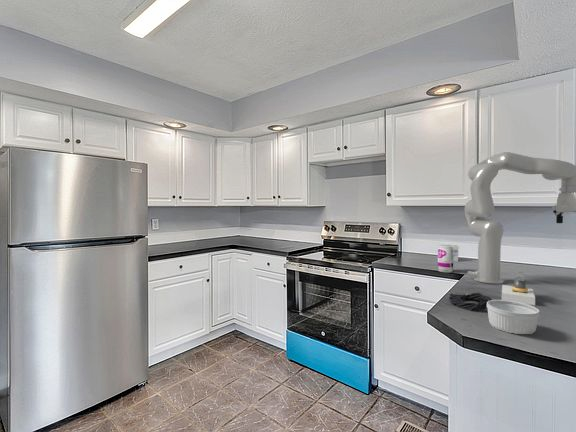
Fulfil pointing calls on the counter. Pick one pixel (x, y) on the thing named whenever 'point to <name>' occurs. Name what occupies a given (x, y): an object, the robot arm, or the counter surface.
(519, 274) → the clip
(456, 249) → the light bulb box
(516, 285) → the plug
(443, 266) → the supplement can
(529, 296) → the socket block
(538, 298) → the counter surface
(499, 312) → the ramekin
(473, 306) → the cable
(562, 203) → the robot arm
